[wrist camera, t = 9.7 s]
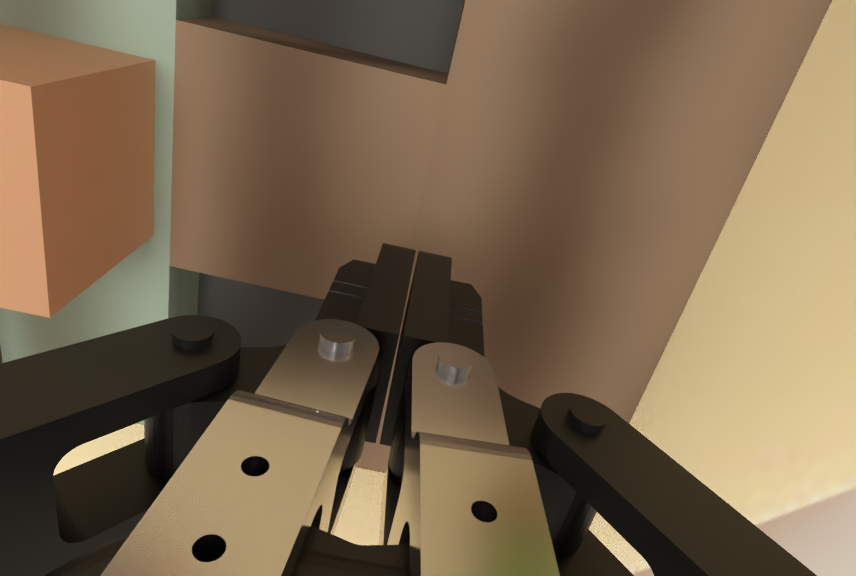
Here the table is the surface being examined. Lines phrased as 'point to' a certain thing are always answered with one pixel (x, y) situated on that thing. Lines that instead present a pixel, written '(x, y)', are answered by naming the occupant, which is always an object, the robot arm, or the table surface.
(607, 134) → the track
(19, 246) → the block
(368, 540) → the table surface
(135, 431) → the table surface
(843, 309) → the table surface
